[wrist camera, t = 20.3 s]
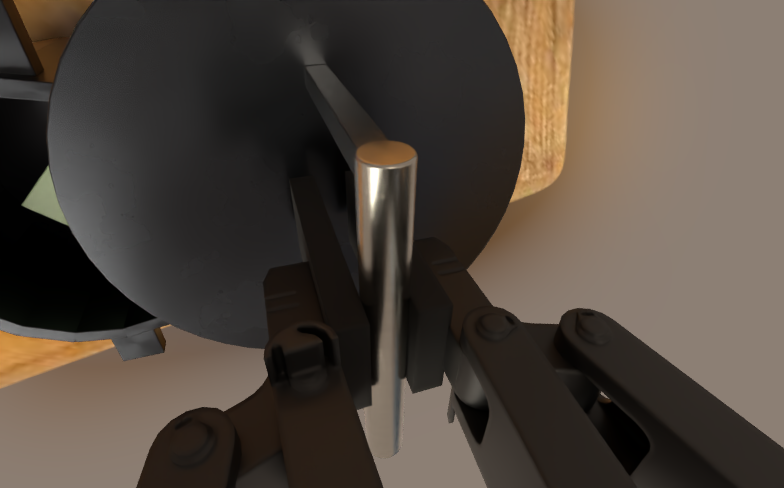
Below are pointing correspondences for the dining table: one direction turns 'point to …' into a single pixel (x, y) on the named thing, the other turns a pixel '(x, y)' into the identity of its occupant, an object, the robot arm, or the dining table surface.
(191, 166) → the lid
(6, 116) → the pot
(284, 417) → the robot arm
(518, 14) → the dining table surface
